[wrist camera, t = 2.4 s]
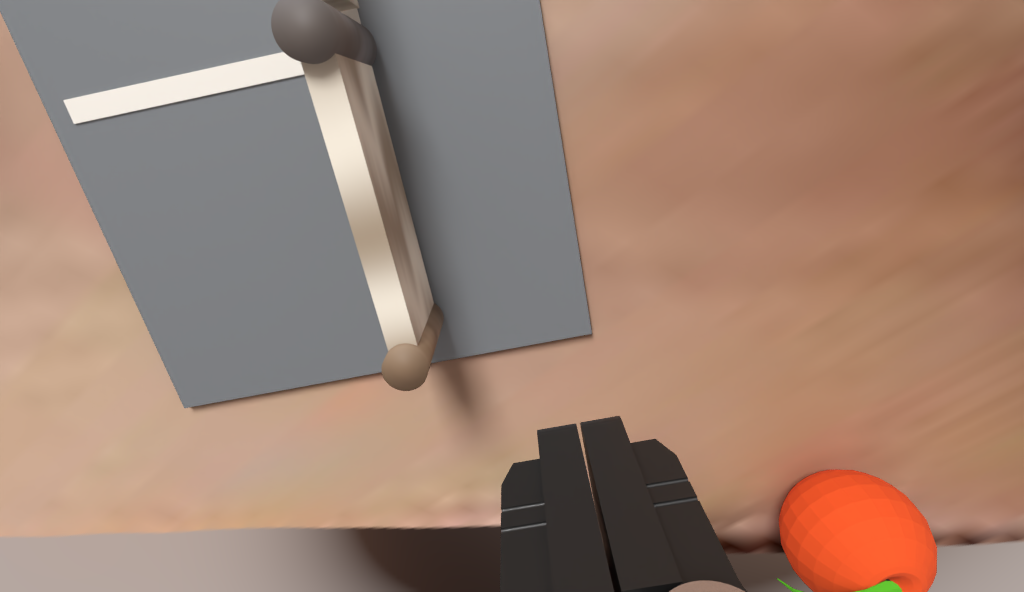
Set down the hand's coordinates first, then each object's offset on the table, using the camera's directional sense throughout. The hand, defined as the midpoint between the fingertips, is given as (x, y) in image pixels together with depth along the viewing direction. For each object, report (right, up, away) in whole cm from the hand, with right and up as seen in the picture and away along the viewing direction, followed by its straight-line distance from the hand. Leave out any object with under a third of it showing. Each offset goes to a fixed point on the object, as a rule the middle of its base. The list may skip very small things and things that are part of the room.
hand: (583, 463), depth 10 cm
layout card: (-11, +13, +13) cm, 22 cm away
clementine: (+16, -9, +21) cm, 28 cm away
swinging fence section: (-7, +8, +14) cm, 17 cm away
